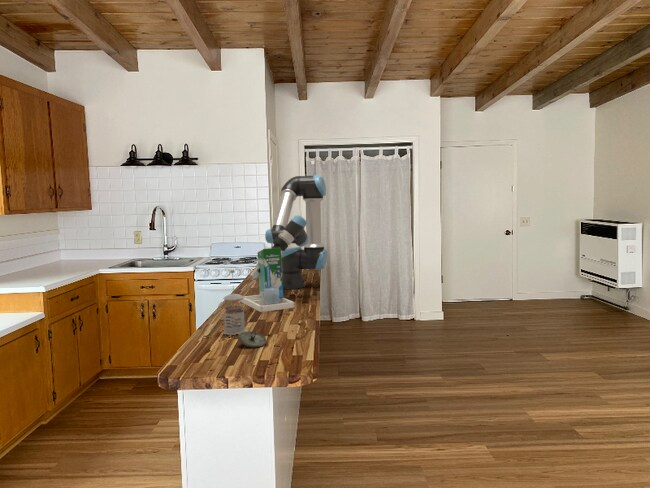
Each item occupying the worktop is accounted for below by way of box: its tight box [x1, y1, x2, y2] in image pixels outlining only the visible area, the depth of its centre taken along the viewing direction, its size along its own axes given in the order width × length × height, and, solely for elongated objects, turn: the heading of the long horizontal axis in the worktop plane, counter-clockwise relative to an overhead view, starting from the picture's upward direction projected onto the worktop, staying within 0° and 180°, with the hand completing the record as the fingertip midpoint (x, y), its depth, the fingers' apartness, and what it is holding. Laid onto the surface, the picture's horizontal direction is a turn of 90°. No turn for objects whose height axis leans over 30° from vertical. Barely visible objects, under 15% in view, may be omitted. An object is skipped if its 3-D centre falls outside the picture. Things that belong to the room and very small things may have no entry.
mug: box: [264, 287, 279, 306], centre depth 248 cm, size 9×7×9 cm
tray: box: [240, 294, 295, 313], centre depth 256 cm, size 28×17×4 cm, turn 28°
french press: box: [217, 269, 248, 336], centre depth 209 cm, size 10×12×25 cm
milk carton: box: [257, 246, 284, 299], centre depth 258 cm, size 9×9×25 cm
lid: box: [237, 331, 267, 349], centre depth 190 cm, size 11×10×5 cm
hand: (253, 276), depth 259 cm, fingers closed
